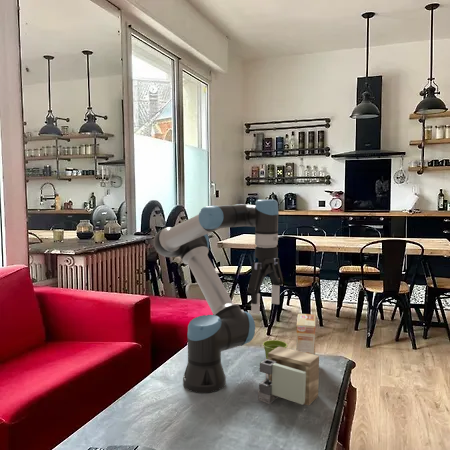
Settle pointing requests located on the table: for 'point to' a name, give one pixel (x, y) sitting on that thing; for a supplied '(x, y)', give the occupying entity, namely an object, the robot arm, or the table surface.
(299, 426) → the table surface
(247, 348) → the table surface
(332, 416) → the table surface
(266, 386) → the square frame paddle
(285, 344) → the plant pot
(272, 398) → the cabinet
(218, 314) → the robot arm
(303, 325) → the coffeecake box
